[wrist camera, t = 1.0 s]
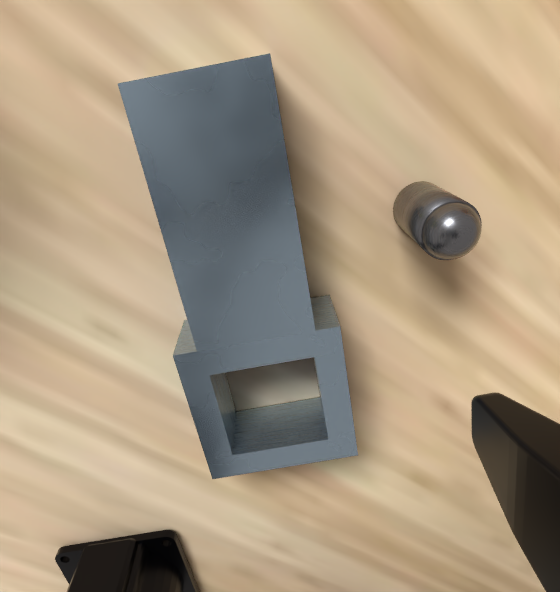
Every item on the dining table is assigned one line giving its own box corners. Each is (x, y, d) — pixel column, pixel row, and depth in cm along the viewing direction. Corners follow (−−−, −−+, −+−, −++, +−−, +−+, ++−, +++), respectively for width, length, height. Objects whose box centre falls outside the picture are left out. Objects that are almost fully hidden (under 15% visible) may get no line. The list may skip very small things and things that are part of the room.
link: (346, 411, 21) (358, 455, 19) (218, 433, 22) (212, 479, 19) (294, 54, 15) (301, 47, 13) (115, 90, 15) (87, 89, 13)
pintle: (445, 227, 18) (493, 262, 14) (394, 236, 18) (429, 274, 14) (444, 176, 17) (494, 200, 13) (391, 186, 17) (427, 212, 14)
